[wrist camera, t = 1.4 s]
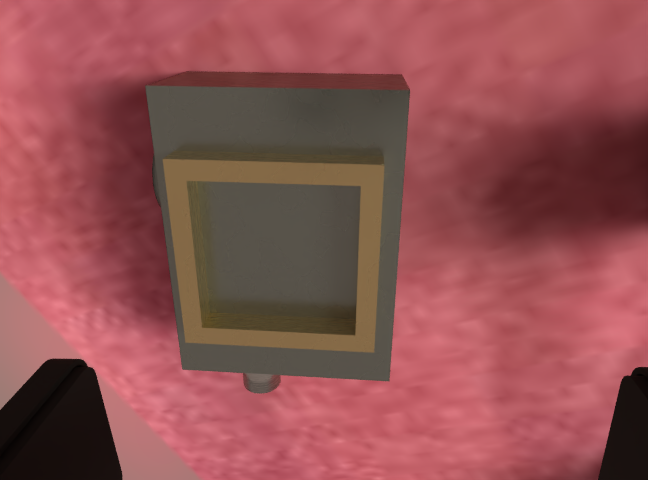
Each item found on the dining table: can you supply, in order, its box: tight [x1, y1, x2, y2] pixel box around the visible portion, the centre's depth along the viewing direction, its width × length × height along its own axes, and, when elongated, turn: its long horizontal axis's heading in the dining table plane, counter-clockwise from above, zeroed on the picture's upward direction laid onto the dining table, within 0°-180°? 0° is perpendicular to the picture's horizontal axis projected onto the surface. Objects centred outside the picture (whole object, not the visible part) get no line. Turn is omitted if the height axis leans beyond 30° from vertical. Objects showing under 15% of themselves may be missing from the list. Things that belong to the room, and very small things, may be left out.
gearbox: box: [145, 71, 410, 393], centre depth 29 cm, size 19×13×8 cm, turn 0°
